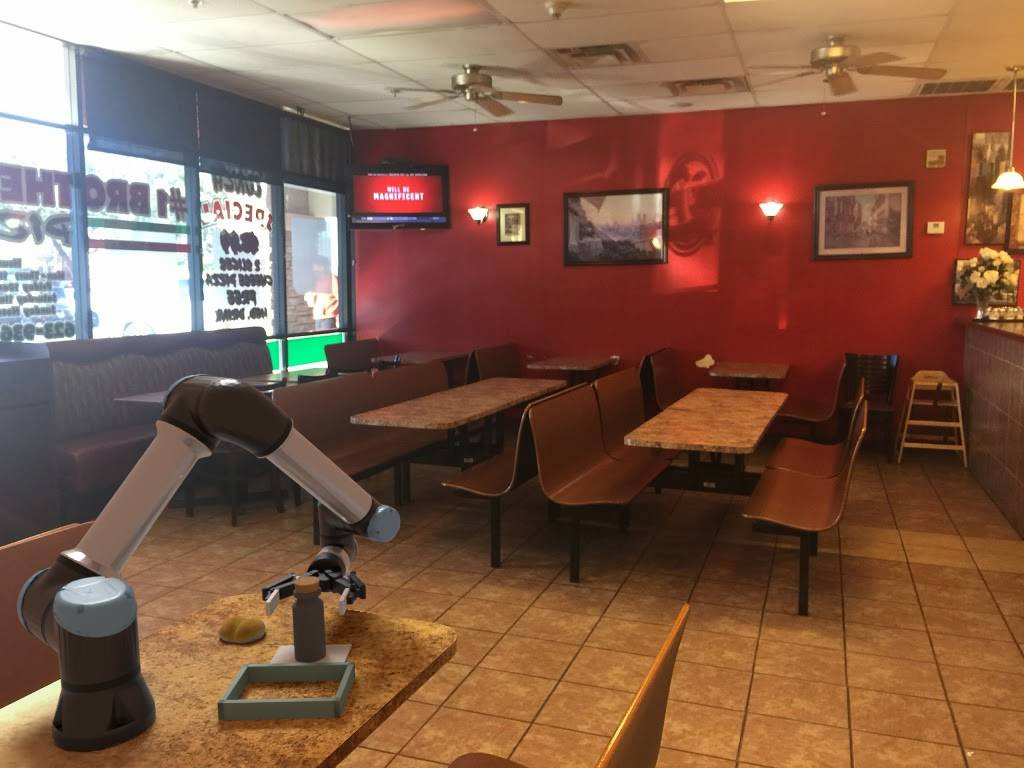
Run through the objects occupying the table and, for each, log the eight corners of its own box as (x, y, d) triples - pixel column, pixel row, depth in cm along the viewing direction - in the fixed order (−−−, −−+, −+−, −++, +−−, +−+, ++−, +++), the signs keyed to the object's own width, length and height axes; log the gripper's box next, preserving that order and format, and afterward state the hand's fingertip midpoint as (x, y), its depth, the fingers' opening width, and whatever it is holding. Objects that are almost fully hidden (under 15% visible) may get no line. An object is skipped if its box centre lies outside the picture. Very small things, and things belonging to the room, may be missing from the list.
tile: (266, 671, 154) (265, 669, 154) (280, 648, 164) (280, 645, 164) (341, 670, 154) (341, 667, 154) (351, 646, 164) (351, 644, 164)
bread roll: (251, 646, 165) (250, 627, 165) (212, 642, 167) (211, 623, 167) (274, 630, 173) (273, 611, 172) (236, 625, 175) (235, 607, 175)
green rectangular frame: (218, 720, 137) (217, 703, 136) (244, 679, 151) (243, 664, 150) (340, 717, 137) (339, 700, 137) (355, 677, 151) (354, 661, 151)
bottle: (318, 664, 155) (314, 587, 153) (289, 661, 157) (285, 585, 155) (331, 650, 161) (327, 575, 159) (303, 648, 162) (299, 574, 160)
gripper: (388, 585, 176) (372, 626, 155) (270, 587, 176) (238, 629, 155) (387, 551, 175) (370, 587, 154) (268, 553, 175) (236, 590, 154)
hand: (304, 608), depth 155 cm, fingers open, 13 cm apart
